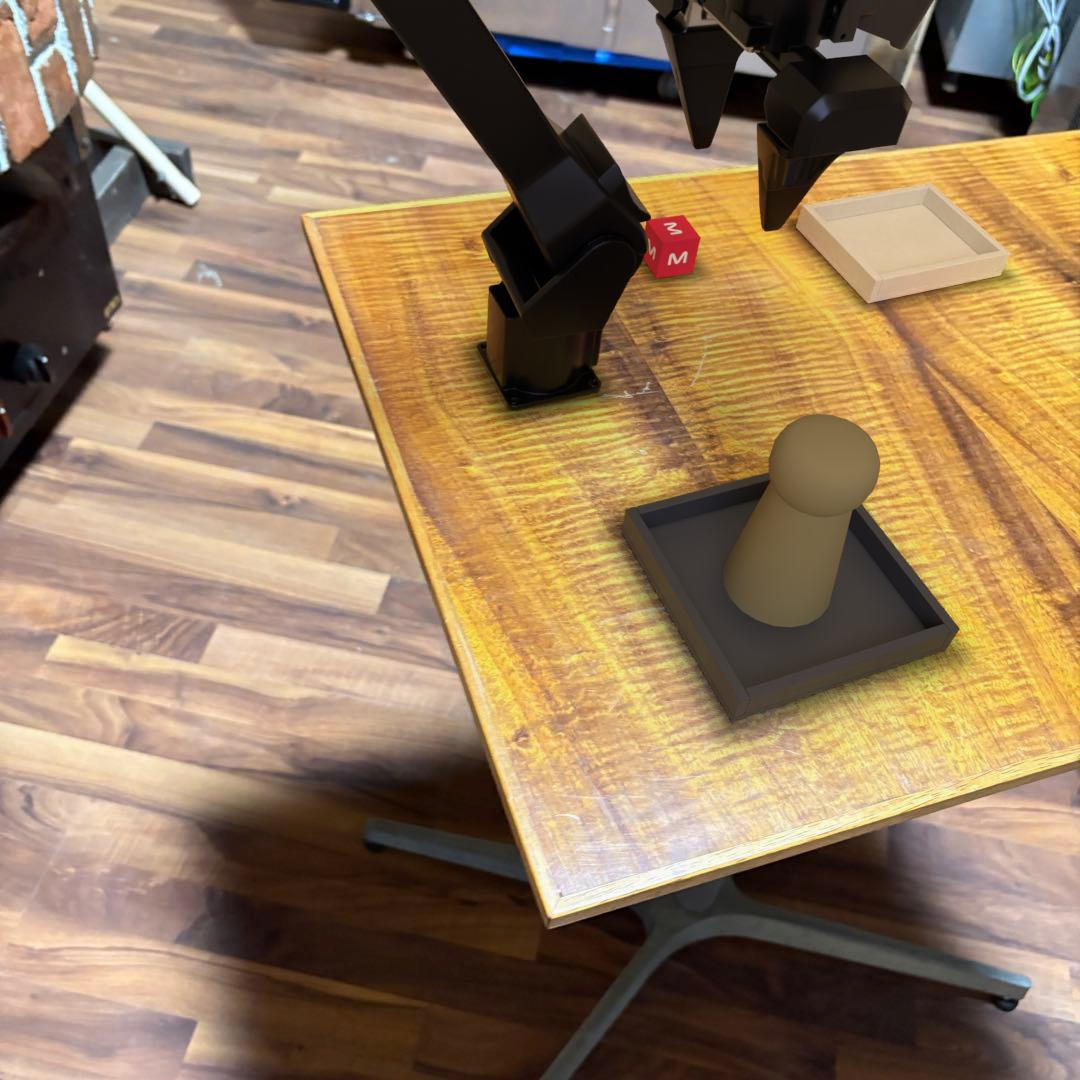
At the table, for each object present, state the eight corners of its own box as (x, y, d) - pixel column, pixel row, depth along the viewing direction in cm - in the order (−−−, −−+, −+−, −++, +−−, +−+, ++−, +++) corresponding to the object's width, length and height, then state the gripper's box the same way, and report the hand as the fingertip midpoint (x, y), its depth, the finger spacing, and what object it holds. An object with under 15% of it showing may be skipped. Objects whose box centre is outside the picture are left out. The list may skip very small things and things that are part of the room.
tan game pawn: (830, 637, 54) (900, 496, 46) (717, 614, 55) (766, 470, 46) (832, 552, 58) (897, 408, 50) (727, 531, 58) (773, 385, 50)
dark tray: (731, 722, 51) (740, 701, 49) (620, 531, 59) (625, 508, 57) (946, 650, 55) (960, 628, 53) (816, 480, 62) (825, 457, 61)
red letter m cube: (693, 272, 76) (700, 237, 73) (656, 278, 75) (662, 242, 73) (676, 249, 77) (683, 214, 75) (640, 255, 77) (646, 219, 74)
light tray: (867, 303, 75) (876, 280, 73) (795, 227, 81) (802, 204, 79) (1000, 275, 78) (1011, 253, 77) (922, 204, 84) (931, 182, 83)
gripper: (1062, -43, 46) (936, 256, 58) (847, -176, 57) (778, 98, 69) (848, -26, 43) (761, 286, 55) (665, -170, 54) (626, 116, 66)
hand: (734, 186), depth 61 cm, fingers open, 9 cm apart
